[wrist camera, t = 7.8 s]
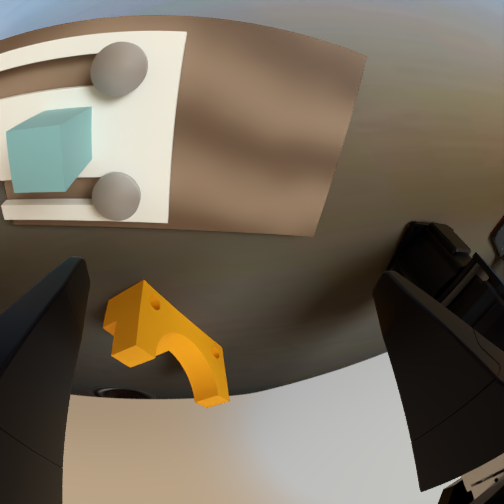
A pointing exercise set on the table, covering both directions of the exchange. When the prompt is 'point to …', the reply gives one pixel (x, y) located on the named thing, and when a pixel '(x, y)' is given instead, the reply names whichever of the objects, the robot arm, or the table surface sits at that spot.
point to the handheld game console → (499, 238)
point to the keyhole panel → (91, 130)
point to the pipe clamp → (165, 340)
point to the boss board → (215, 121)
